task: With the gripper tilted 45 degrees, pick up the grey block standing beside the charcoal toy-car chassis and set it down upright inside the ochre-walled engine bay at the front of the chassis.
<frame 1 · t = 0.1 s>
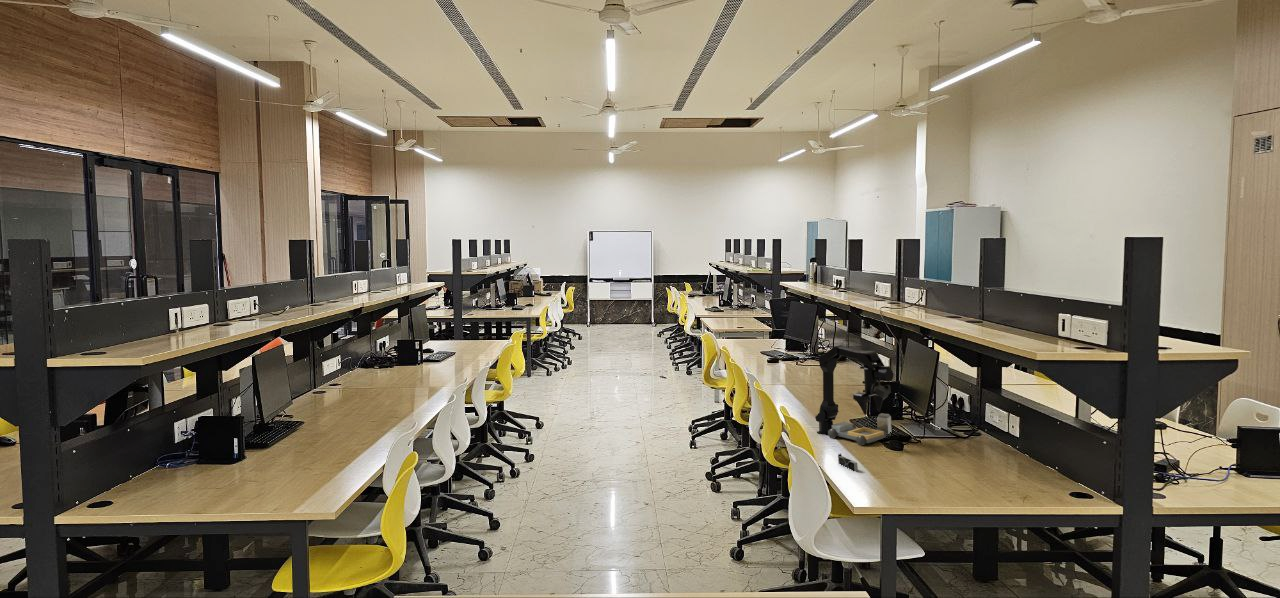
hand: (872, 412, 320), 15 cm above the table, fingers open, 9 cm apart
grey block: (884, 435, 335), on the table
chassis: (856, 438, 332), on the table
graphics card: (847, 468, 291), on the table
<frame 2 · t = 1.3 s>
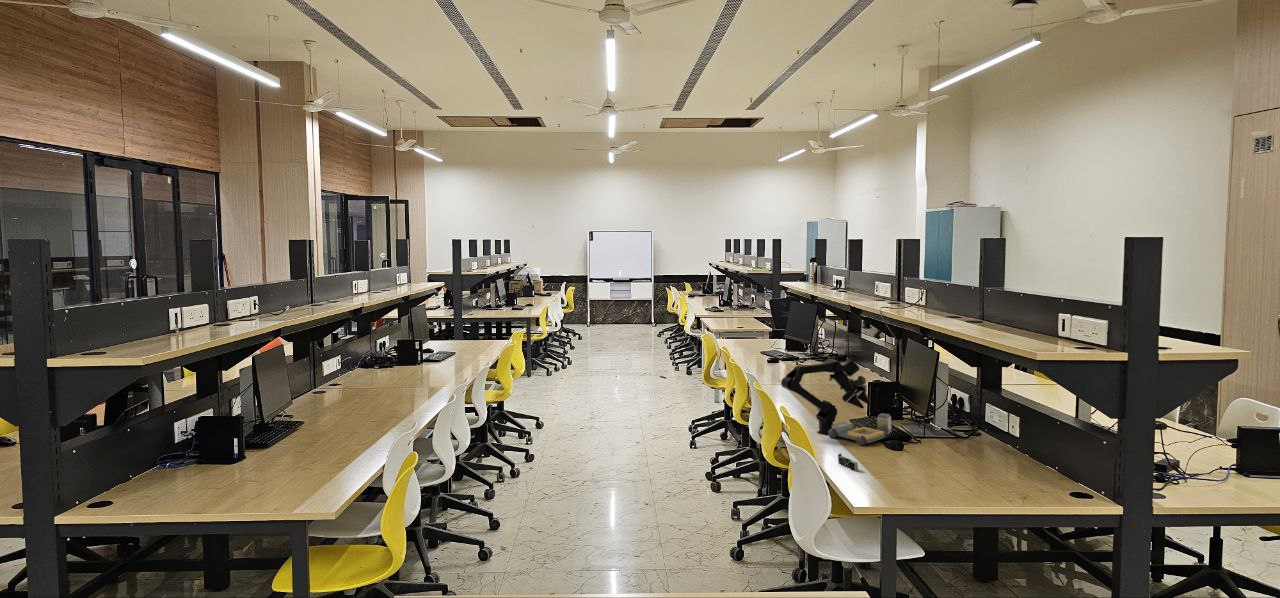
hand: (866, 406, 339), 13 cm above the table, fingers open, 9 cm apart
nothing on the table moved.
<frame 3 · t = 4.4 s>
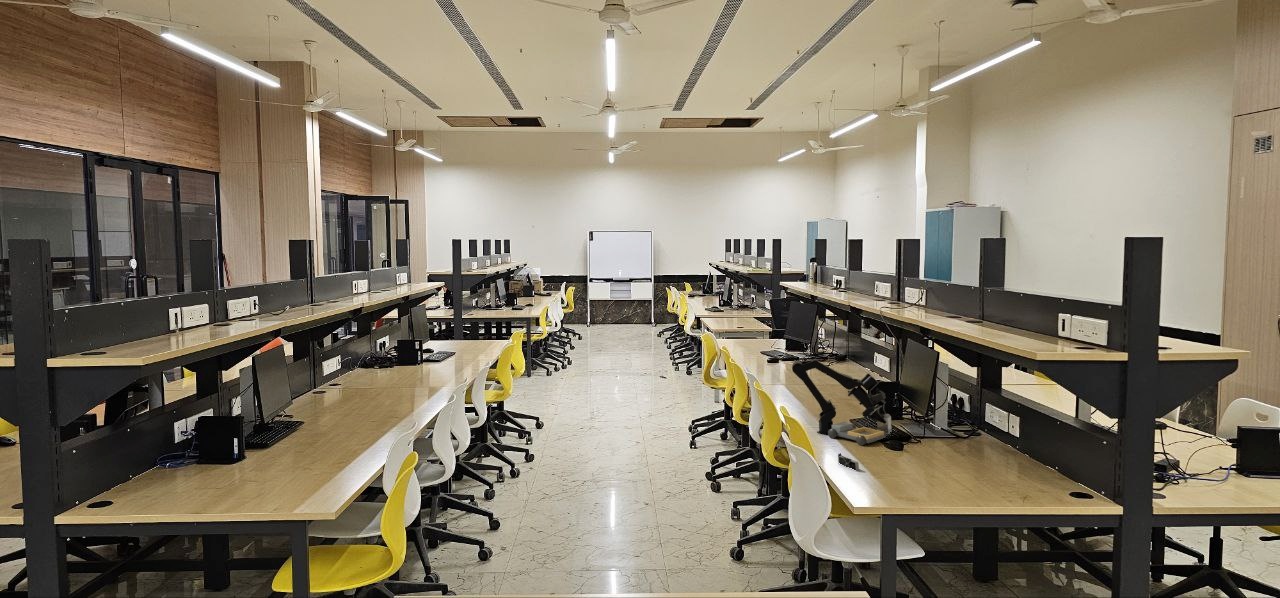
hand: (887, 421, 334), 7 cm above the table, fingers closed on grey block, 5 cm apart
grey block: (884, 435, 335), on the table, touching gripper
everything else where it was.
when the fingers open (11 cm above the table, at t = 7.6 s): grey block drops 1 cm, resting on chassis.
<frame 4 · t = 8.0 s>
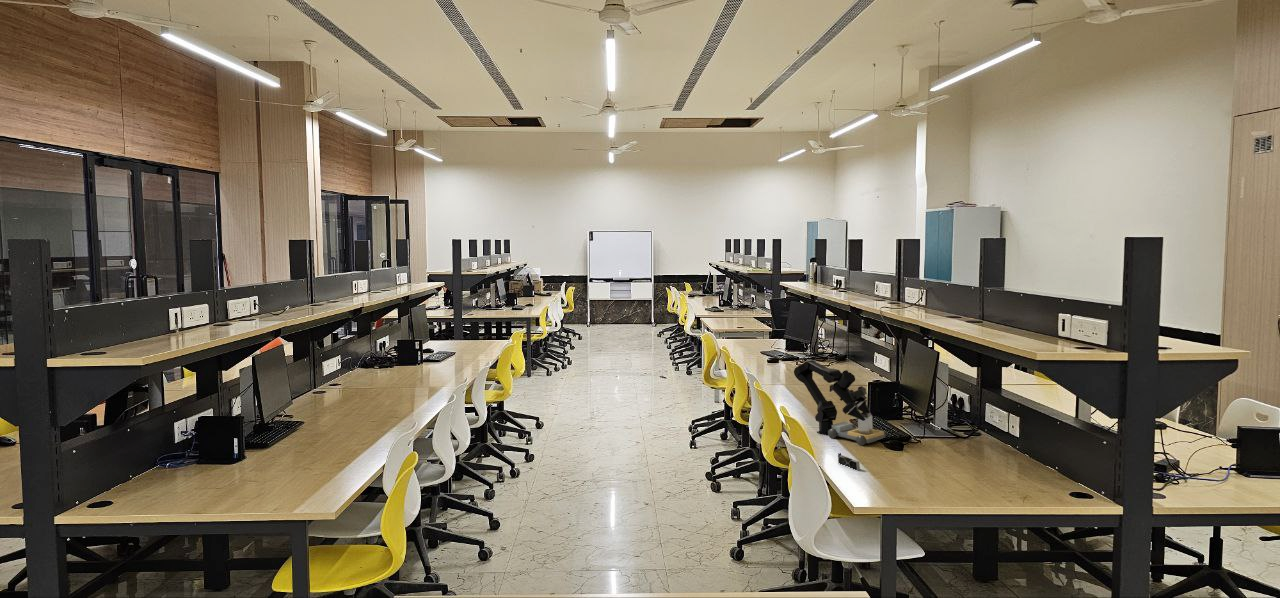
hand: (867, 418, 326), 11 cm above the table, fingers open, 9 cm apart
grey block: (865, 434, 327), point 3 cm above the table, touching chassis
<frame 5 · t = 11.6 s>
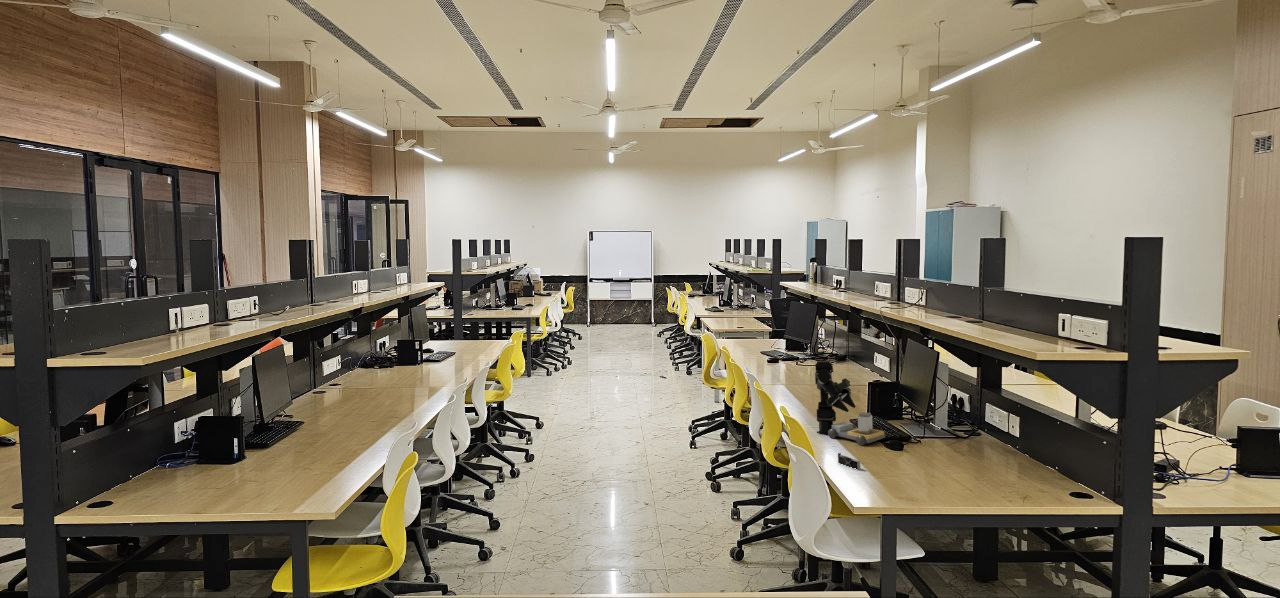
hand: (851, 409, 333), 14 cm above the table, fingers open, 9 cm apart
at the end: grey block 0.1 cm from the target spot on the chassis, point 3.0 cm above the chassis's base; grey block tilted 0°; the gripper is holding nothing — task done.
